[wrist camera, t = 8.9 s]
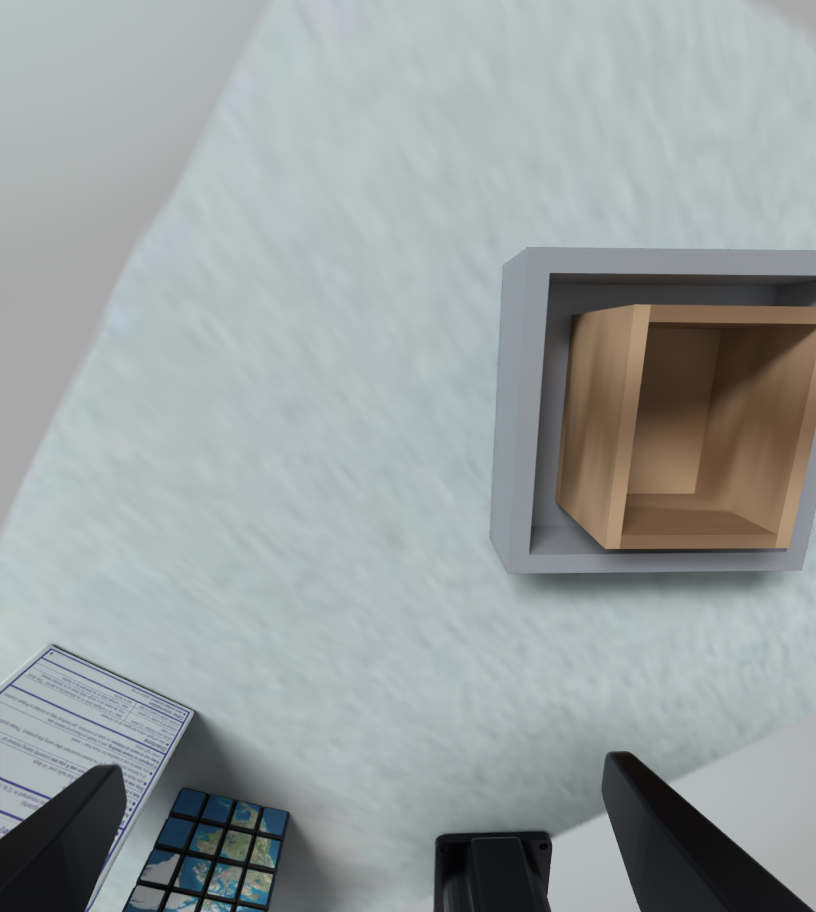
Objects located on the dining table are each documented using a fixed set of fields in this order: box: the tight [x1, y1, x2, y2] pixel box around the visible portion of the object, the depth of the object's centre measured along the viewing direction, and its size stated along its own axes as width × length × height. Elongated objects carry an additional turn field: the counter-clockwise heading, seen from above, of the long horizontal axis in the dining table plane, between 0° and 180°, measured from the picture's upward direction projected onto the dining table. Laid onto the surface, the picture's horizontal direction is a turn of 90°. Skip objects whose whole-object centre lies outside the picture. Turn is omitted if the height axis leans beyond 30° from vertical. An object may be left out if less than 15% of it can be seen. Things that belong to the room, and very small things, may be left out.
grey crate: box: [490, 247, 816, 574], centre depth 19 cm, size 12×12×4 cm
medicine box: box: [0, 644, 194, 912], centre depth 19 cm, size 8×4×9 cm, turn 57°
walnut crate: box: [555, 304, 816, 549], centre depth 17 cm, size 8×6×5 cm
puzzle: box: [122, 788, 290, 912], centre depth 22 cm, size 6×6×6 cm
